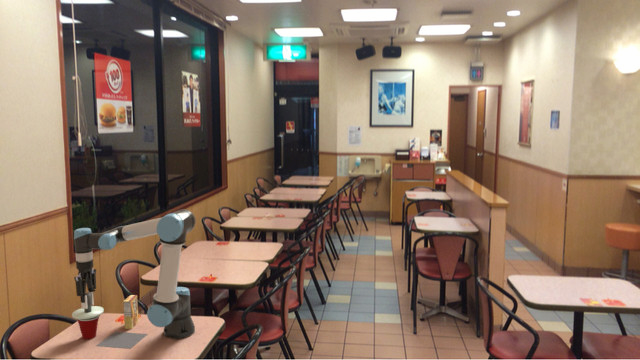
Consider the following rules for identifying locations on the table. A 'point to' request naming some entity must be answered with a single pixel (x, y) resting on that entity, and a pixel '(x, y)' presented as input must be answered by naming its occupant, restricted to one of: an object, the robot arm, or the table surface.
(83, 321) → the plastic cup
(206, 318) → the table surface
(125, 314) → the candy box
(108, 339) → the mat
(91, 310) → the lid
